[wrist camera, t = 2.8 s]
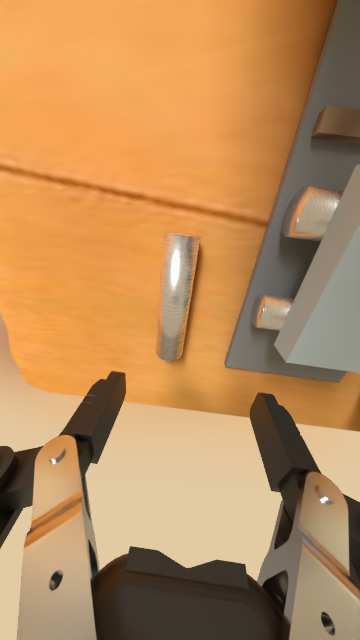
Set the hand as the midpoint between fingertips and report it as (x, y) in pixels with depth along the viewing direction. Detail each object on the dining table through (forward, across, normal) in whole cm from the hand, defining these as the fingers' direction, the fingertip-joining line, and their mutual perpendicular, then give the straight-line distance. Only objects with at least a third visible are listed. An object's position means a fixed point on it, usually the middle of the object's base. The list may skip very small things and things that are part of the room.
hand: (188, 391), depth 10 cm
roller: (+14, 0, 0) cm, 14 cm away
